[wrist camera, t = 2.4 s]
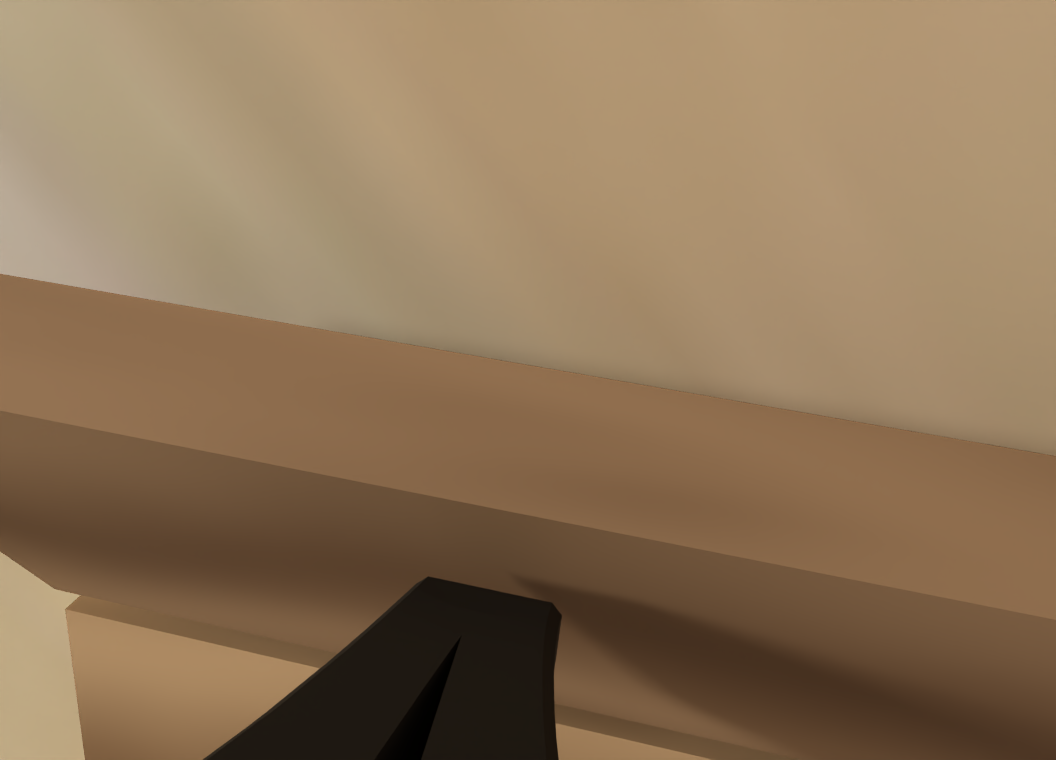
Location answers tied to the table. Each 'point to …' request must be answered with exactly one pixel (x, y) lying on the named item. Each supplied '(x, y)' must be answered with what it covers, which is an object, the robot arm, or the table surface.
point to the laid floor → (262, 692)
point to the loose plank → (539, 523)
